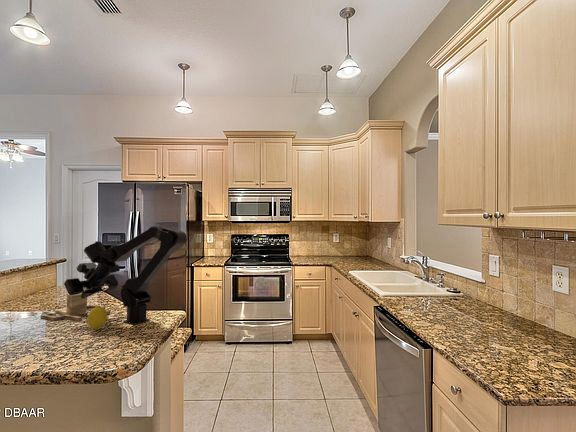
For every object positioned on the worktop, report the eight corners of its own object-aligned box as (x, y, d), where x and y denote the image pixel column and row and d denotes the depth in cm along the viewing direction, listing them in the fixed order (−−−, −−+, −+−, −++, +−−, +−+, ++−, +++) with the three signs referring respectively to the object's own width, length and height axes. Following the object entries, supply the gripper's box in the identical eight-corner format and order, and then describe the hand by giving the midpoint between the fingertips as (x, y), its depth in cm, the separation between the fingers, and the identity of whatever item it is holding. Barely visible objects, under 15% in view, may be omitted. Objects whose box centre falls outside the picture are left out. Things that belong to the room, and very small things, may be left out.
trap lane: (118, 311, 126) (118, 308, 126) (67, 323, 108) (67, 320, 108) (83, 306, 136) (83, 303, 136) (31, 316, 118) (31, 313, 118)
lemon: (110, 327, 104) (111, 304, 105) (98, 332, 99) (99, 307, 99) (95, 327, 105) (96, 303, 105) (82, 332, 99) (84, 307, 100)
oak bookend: (86, 313, 124) (87, 293, 125) (70, 316, 119) (72, 295, 119) (69, 310, 129) (70, 291, 129) (53, 313, 123) (55, 293, 124)
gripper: (115, 255, 129) (96, 279, 132) (68, 257, 112) (48, 285, 115) (127, 275, 125) (107, 299, 129) (80, 280, 108) (59, 308, 112)
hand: (82, 297), depth 121 cm, fingers closed
